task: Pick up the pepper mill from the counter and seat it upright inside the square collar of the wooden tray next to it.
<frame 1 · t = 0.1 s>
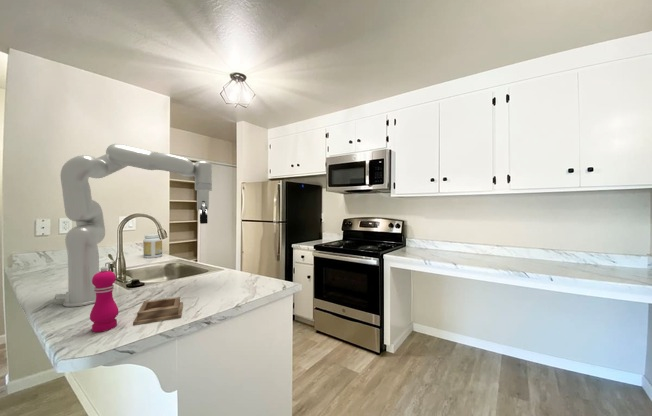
hand: (203, 222, 129), 31 cm above the counter, tool pointing down, fingers open, 9 cm apart
wooden tray: (160, 313, 98), on the counter
pepper mill: (104, 328, 87), on the counter
supplement tub: (153, 257, 205), on the counter
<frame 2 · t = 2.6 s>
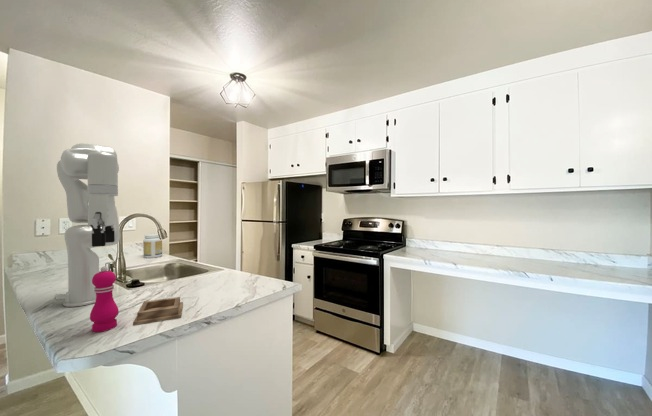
hand: (103, 244, 87), 27 cm above the counter, tool pointing down, fingers open, 9 cm apart
nothing on the counter moved.
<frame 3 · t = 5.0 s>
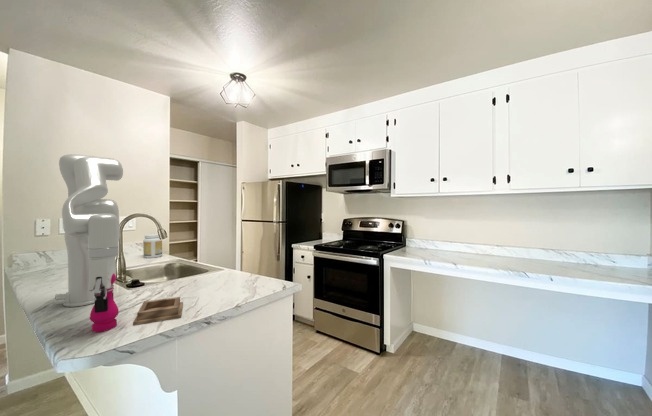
hand: (104, 307, 87), 7 cm above the counter, tool pointing down, fingers closed on pepper mill, 5 cm apart
pepper mill: (104, 328, 87), on the counter, touching gripper
everything else where it was.
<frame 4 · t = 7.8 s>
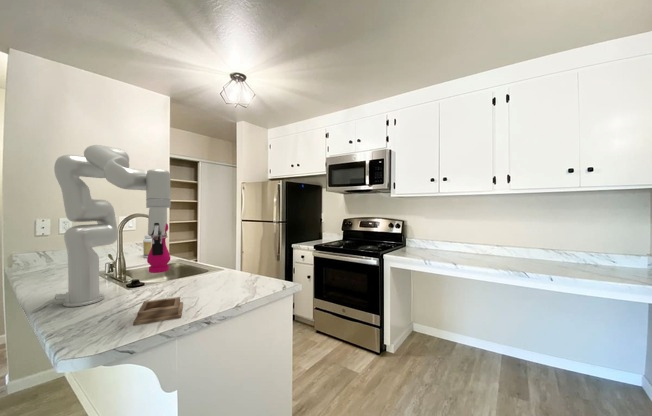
hand: (158, 253, 98), 22 cm above the counter, tool pointing down, fingers closed on pepper mill, 5 cm apart
pepper mill: (159, 271, 98), point 16 cm above the counter, touching gripper
everything else where it was.
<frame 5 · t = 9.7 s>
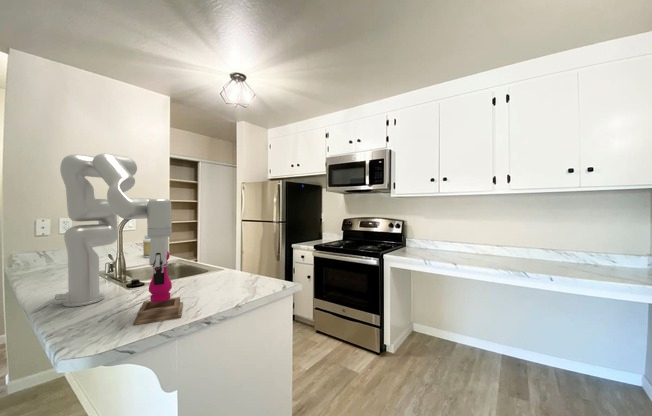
hand: (160, 281, 98), 12 cm above the counter, tool pointing down, fingers closed on pepper mill, 5 cm apart
pepper mill: (160, 299, 98), point 5 cm above the counter, touching gripper
everything else where it was.
when the fingers open (9 cm above the counter, at t = 10.8 s): pepper mill drops 1 cm, resting on wooden tray.
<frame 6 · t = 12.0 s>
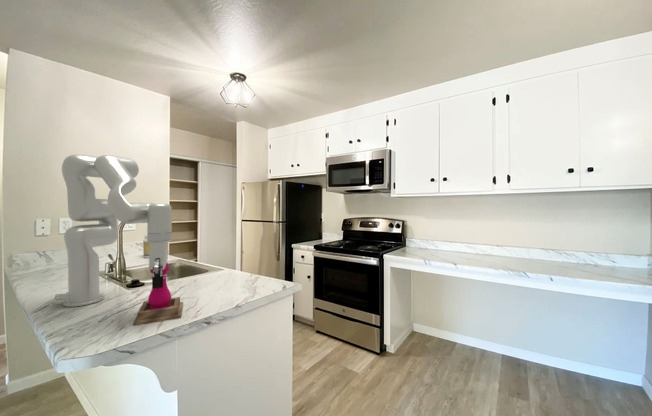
hand: (159, 284, 98), 11 cm above the counter, tool pointing down, fingers open, 9 cm apart
pepper mill: (160, 311, 98), point 1 cm above the counter, touching wooden tray
everything else where it was.
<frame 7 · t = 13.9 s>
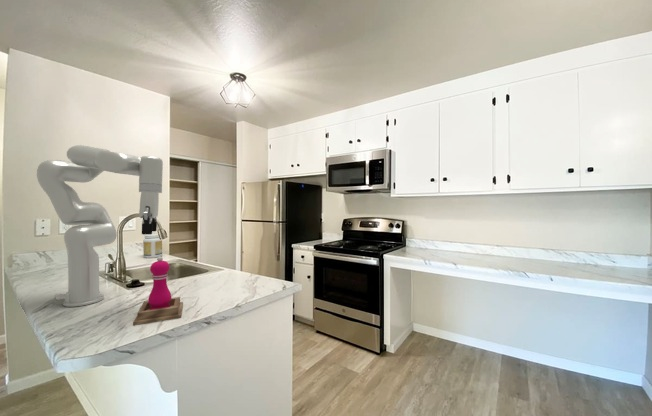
hand: (149, 232, 104), 29 cm above the counter, tool pointing down, fingers open, 9 cm apart
nothing on the counter moved.
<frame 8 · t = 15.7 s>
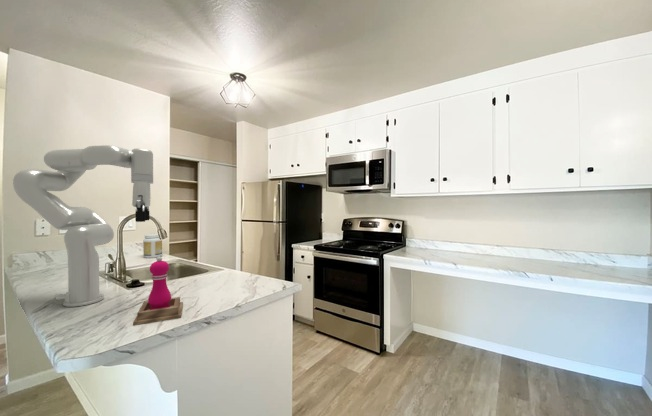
hand: (142, 220, 111), 33 cm above the counter, tool pointing down, fingers open, 9 cm apart
nothing on the counter moved.
at the end: pepper mill 0.3 cm off-centre on the wooden tray, point 0.8 cm above the wooden tray's base; pepper mill tilted 0°; the gripper is holding nothing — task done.
